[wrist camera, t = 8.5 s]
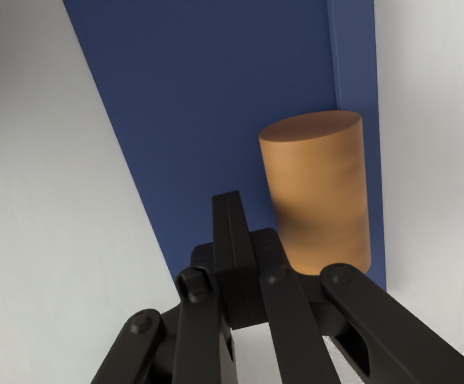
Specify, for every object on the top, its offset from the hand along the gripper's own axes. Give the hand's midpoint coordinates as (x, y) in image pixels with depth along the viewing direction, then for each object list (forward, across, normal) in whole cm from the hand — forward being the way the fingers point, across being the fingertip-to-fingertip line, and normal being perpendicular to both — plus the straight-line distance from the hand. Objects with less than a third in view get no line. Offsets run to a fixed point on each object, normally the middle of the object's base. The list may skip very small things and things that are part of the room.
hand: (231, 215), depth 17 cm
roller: (0, +5, 0) cm, 5 cm away
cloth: (+2, +2, +1) cm, 3 cm away
